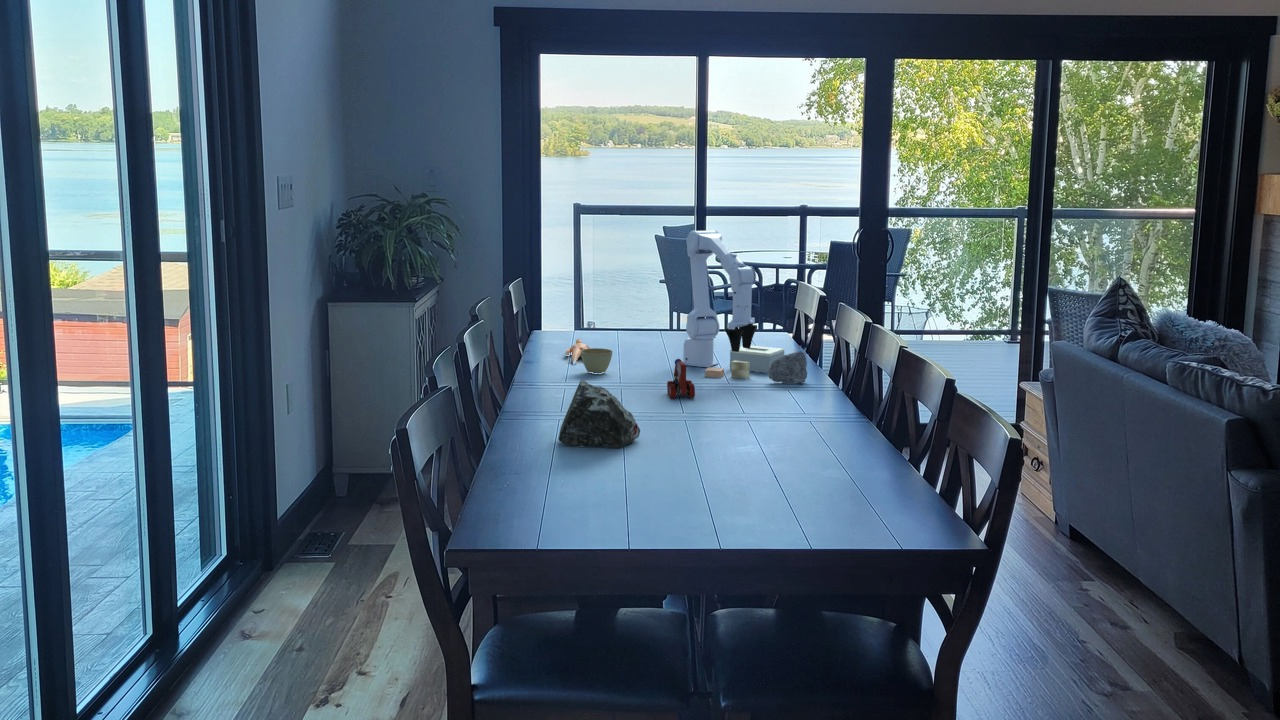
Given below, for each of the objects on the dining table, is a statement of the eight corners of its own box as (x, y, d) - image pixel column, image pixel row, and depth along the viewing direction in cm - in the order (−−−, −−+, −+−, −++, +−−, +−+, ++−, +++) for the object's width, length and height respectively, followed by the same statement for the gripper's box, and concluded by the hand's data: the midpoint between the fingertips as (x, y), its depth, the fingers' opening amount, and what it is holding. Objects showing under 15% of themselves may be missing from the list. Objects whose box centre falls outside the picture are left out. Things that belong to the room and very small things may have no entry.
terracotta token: (704, 377, 338) (705, 370, 337) (708, 374, 342) (708, 367, 342) (720, 378, 336) (720, 371, 336) (723, 375, 341) (724, 368, 341)
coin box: (729, 369, 350) (730, 349, 349) (745, 363, 359) (745, 344, 358) (769, 373, 343) (769, 353, 342) (783, 368, 352) (784, 348, 351)
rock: (806, 381, 331) (807, 349, 329) (808, 385, 326) (809, 352, 324) (767, 381, 332) (768, 348, 330) (768, 384, 326) (769, 351, 324)
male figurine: (567, 355, 355) (563, 337, 379) (567, 370, 356) (563, 351, 380) (600, 355, 356) (593, 337, 380) (599, 370, 358) (593, 350, 382)
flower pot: (575, 374, 339) (575, 352, 338) (588, 369, 349) (588, 347, 347) (604, 377, 336) (604, 354, 334) (617, 371, 345) (617, 349, 344)
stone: (593, 470, 245) (618, 411, 241) (534, 431, 252) (557, 373, 248) (634, 460, 261) (658, 405, 257) (577, 423, 268) (599, 370, 265)
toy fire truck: (689, 391, 316) (689, 356, 314) (695, 400, 304) (696, 364, 302) (665, 391, 315) (666, 356, 313) (671, 401, 303) (671, 364, 301)
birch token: (731, 377, 337) (731, 361, 336) (734, 376, 339) (735, 360, 338) (745, 379, 335) (746, 363, 334) (749, 377, 337) (749, 362, 336)
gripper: (743, 309, 325) (742, 354, 327) (764, 304, 337) (762, 347, 339) (722, 307, 328) (721, 352, 331) (743, 302, 341) (742, 345, 343)
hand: (741, 349), depth 335 cm, fingers open, 7 cm apart
